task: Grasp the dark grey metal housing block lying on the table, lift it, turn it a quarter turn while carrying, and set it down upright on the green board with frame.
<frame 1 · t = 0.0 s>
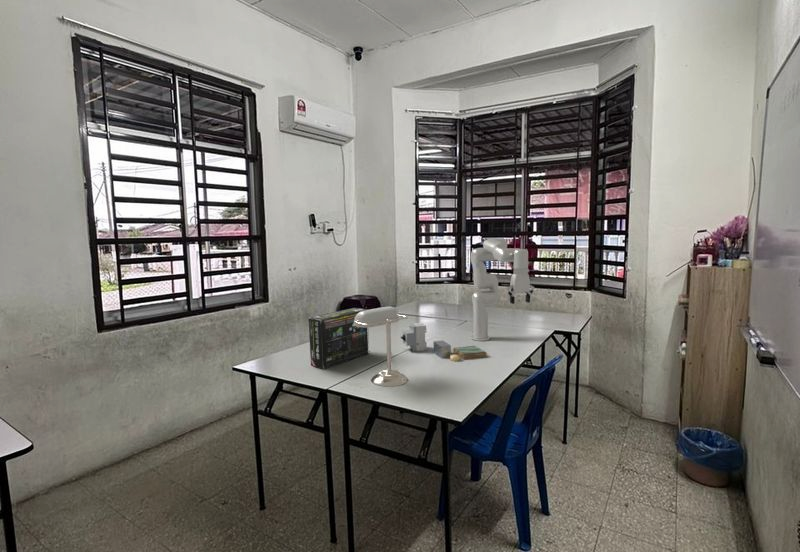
hand: (520, 302, 229), 31 cm above the table, fingers open, 9 cm apart
lamp: (385, 378, 203), on the table
housing: (442, 355, 240), on the table
router box: (340, 360, 234), on the table
circuit breaker: (413, 349, 252), on the table
green board with frame: (469, 354, 240), on the table
cream dome: (454, 360, 231), on the table
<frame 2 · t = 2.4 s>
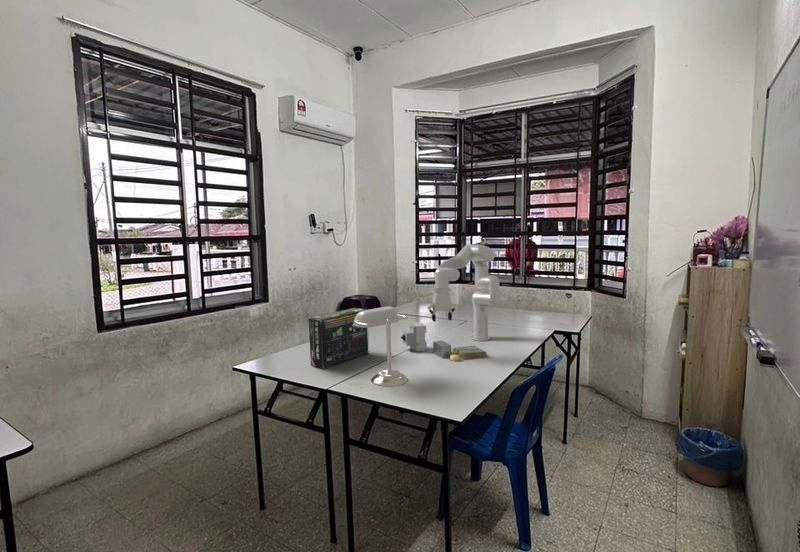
hand: (441, 320, 238), 20 cm above the table, fingers open, 9 cm apart
nothing on the table moved.
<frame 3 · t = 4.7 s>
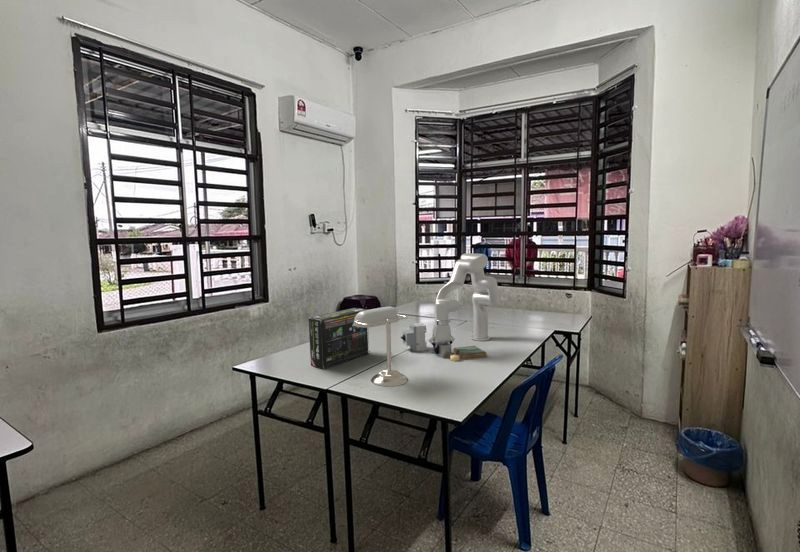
hand: (441, 352, 240), 1 cm above the table, fingers closed on housing, 6 cm apart
housing: (441, 354, 240), on the table, touching gripper
everything else where it was.
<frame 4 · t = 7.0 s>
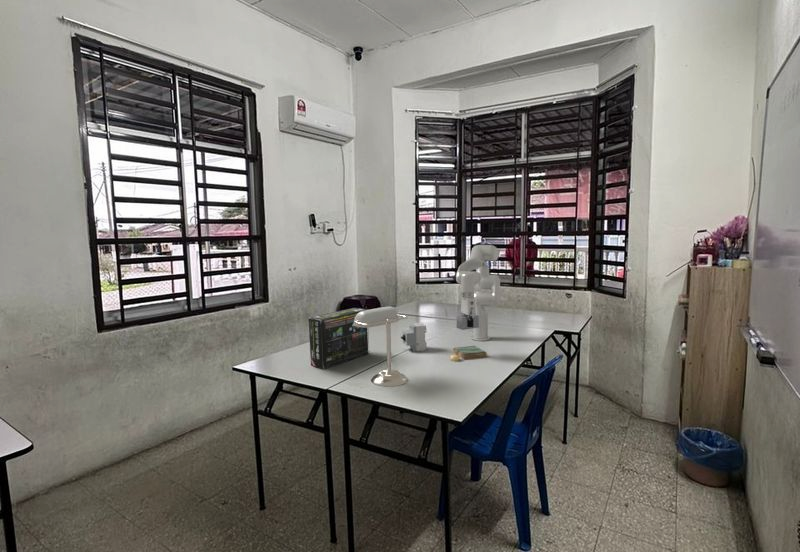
hand: (467, 325, 238), 17 cm above the table, fingers closed on housing, 6 cm apart
housing: (467, 327, 238), point 16 cm above the table, touching gripper
everything else where it was.
when the fingers open (5 cm above the table, at t = 9.5 s): housing drops 1 cm, resting on green board with frame.
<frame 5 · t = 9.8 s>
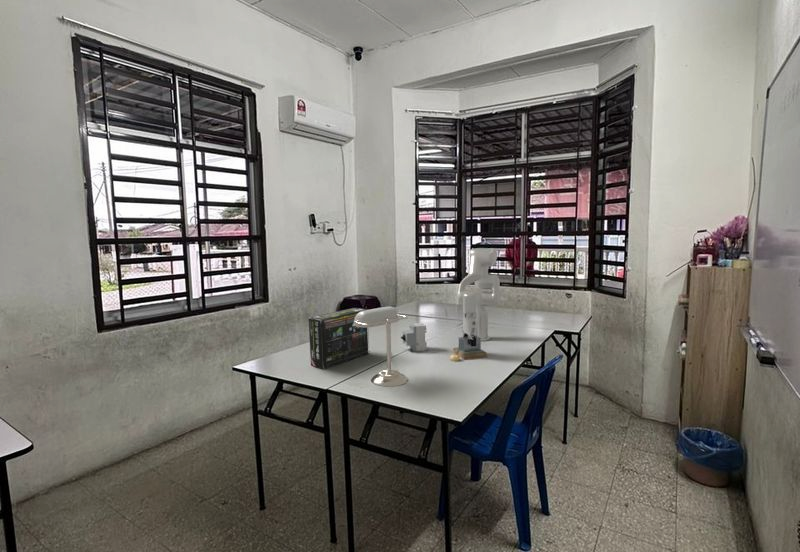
hand: (469, 344, 239), 6 cm above the table, fingers open, 9 cm apart
housing: (469, 349, 240), point 3 cm above the table, touching green board with frame
everything else where it was.
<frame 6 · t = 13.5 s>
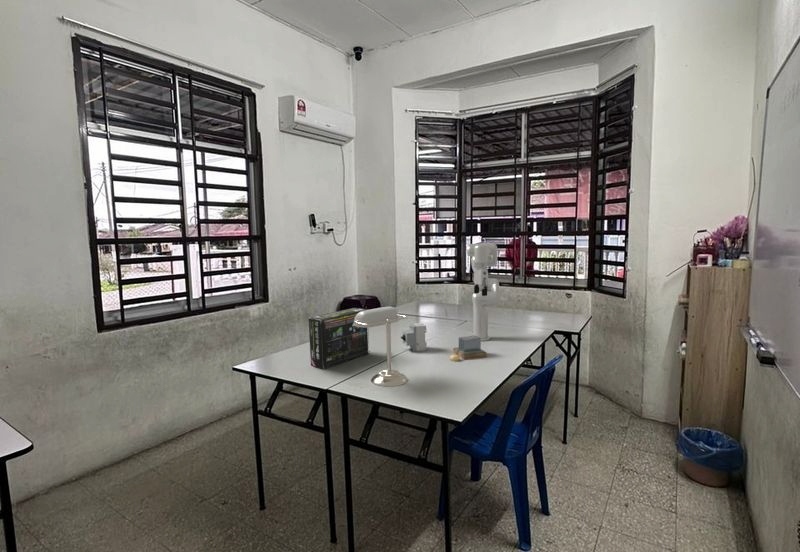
hand: (480, 294, 247), 33 cm above the table, fingers open, 9 cm apart
nothing on the table moved.
at the end: housing inside the target area on the green board with frame (0.2 cm from its centre), point 3.0 cm above the green board with frame's base; housing tilted 0°; the gripper is holding nothing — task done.
